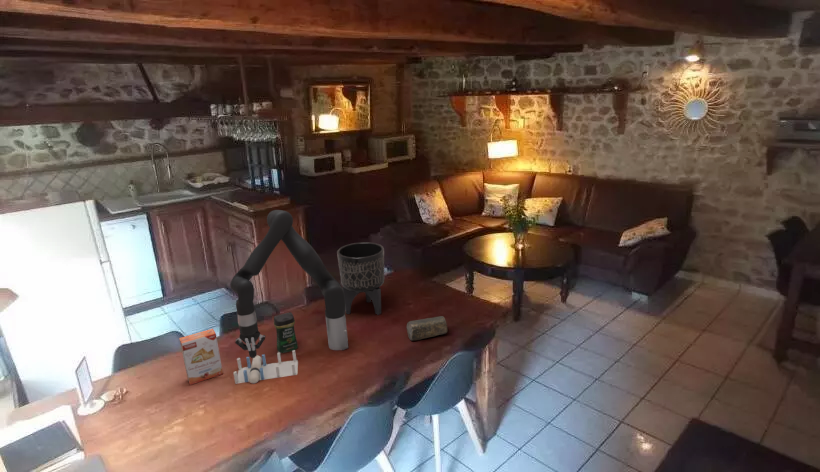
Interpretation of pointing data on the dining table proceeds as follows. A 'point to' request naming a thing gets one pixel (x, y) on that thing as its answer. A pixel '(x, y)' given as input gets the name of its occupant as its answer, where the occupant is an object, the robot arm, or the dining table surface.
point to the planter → (362, 272)
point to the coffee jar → (285, 332)
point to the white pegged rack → (267, 369)
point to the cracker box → (201, 356)
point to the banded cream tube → (255, 369)
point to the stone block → (426, 328)
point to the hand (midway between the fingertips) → (253, 356)
